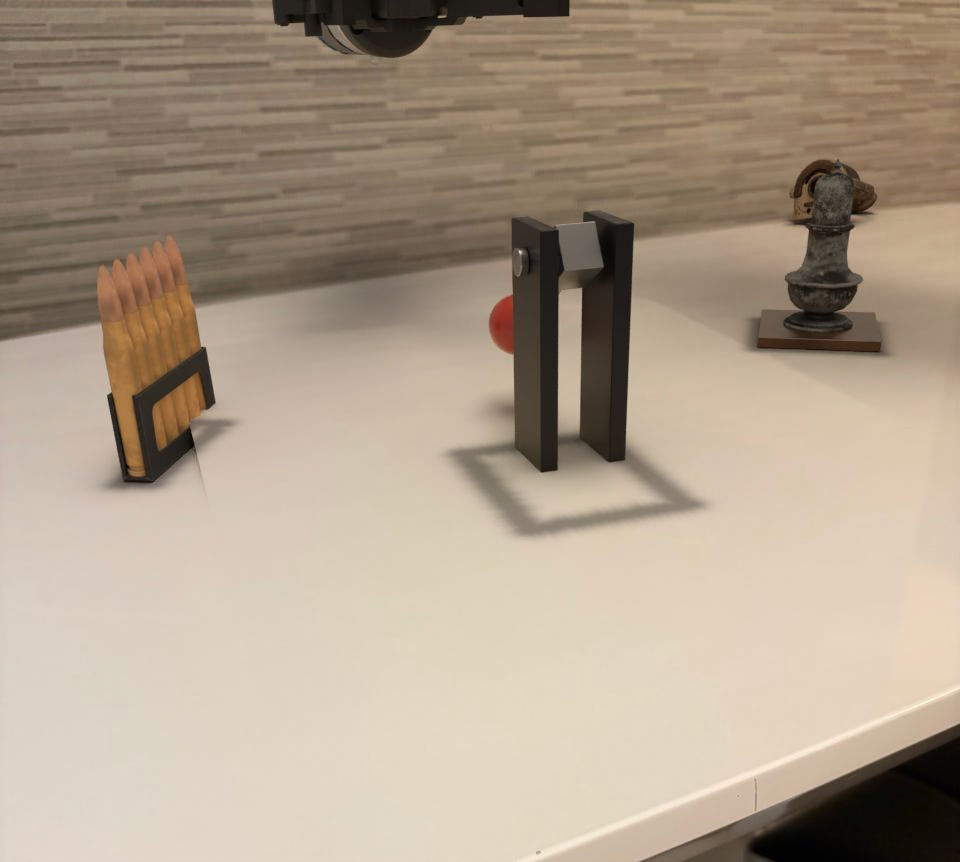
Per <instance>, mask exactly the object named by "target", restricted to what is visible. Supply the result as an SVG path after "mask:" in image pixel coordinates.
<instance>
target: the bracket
mask: <svg viewBox="0 0 960 862" xmlns="http://www.w3.org/2000/svg"><path fill="white" fill-rule="evenodd" d="M592 221H595V222H596V228H597V233H598V238H599V243H600V248H601V253H602V258H603V263H604V267H603V269H602V270H601V271H600V272H599V273H598V274H597V275H596V277H595V278H594V279H593V280H592V281H591V282H590V283H589V285H588V286H587V287H586V288H581V321H580V322H581V329H580V331H581V333H580V334H581V335H580V389H579V390H580V391H579V392H580V395H579V396H580V397H579V400H580V401H579V439H580V440H582V441H583V442H584V443H585V444H586V445H588V446H589V447H590V448H591V449H592V450H593V451H595V452H596V453H597V454H598V455H599V456H601V457H602V458H603V459H604V460H605V461H606V462H608V463H614V462H622V461H626V446H627V424H628V423H627V421H628V399H629V398H628V397H629V372H630V371H629V369H630V345H631V344H630V343H631V342H630V341H631V321H632V320H631V317H632V290H633V267H634V266H633V264H634V243H635V242H634V239H635V223H634V222H632V221H629V220H627V219H624V218H621V217H619V216H616V215H613V214H610V213H608V212H605V211H602V210H599V209H598V210H597V209H596V210H587V211H583V213H582V222H592ZM510 225H511V270H512V271H511V282H512V283H511V284H512V286H511V287H512V290H511V291H512V294H513V353H514V355H513V399H514V400H513V403H514V404H513V405H514V406H513V409H514V411H513V413H514V415H513V416H514V448H515V449H516V450H518V451H519V453H520V454H521V455H523V456H524V457H525V459H527V461H528V462H530V463H531V464H532V465H533V467H534V468H535V469H537V470H538V471H539V473H543V474H544V473H550V472H556V471H558V470H559V465H558V464H559V313H560V312H559V311H560V310H559V308H560V307H559V305H560V304H559V303H560V302H559V301H560V300H559V299H560V297H559V296H560V293H559V230H558V229H556V228H554V226H551V225H549V224H546V223H545V222H542V221H540V220H537V219H536V218H532V217H530V216H527V215H526V216H517V217H512V218H511V224H510Z"/></svg>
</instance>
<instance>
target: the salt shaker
mask: <svg viewBox="0 0 960 862" xmlns="http://www.w3.org/2000/svg"><path fill="white" fill-rule="evenodd" d="M841 163H842V162H841V161H840V159H839V158H838V159H836V162H835V164H834V165H833V166H834V170H833V171H831V172H830V173H829V174H826V175H824V176H822V177H821V178H819V179H818V181H817V182H816V185H815V191H814V200H813V208H812V217H811V219H810V221H808V222H807V223H805V226H804V227H805V228H806V229H807V231H808V233H807V234H808V235H807V241H806V242H807V244H806V251H805V255H804V258H803V261H802V264H801V266H800V267H799V268H797V269H796V270H793V271H790V272H787V273H786V274H784V281H785V282H786V283H787V288H786V289H787V294H788V296H789V297H788V298H789V301H790V302H791V304H792V305H793V306H794V307H795V308H797V309H798V310H804V311H802V312H797V313H794V314H792V315H790V316H789V317H787V318H786V319H784V321H783V323H784V325H785V326H787V327H789V328H791V329H795V330H800V331H806V332H838V331H843V330H847V329H849V328H851V327H852V326H853V323H852V321H851V320H849V319H848V318H847V317H846V316H845V315H842V314H839V313H835V312H836V311H842V310H844V309H845V308H846V307H847V306H849V305H850V304H851V303H852V301H854V299H855V296H856V295H857V293H858V288H859V285H861V284H862V282H863V281H864V278H863V276H862V275H860V274H859V273H856V272H854V271H853V270H852V269H851V268H850V267H849V261H848V249H849V241H850V233H851V231H852V230H854V229H855V228H856V226H855V224H854V223H853V222H852V221H851V219H852V218H851V217H852V213H853V212H852V204H853V197H854V189H855V183H854V181H853V179H852V178H851V177H850V176H849V175H846V174H844V173H843V171H840V167H841V166H842V165H841Z"/></svg>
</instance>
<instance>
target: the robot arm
mask: <svg viewBox="0 0 960 862" xmlns="http://www.w3.org/2000/svg"><path fill="white" fill-rule="evenodd" d="M570 2H571V0H271V3H272V12H273V13H272V14H273V22H274V23H273V24H274V25H276V26H280V27H289V25H290V24H303V27H304V36H305V37H306V38H307V37H315V38H316V39H317V40H319V42H320V43H322V44H323V45H324V46H326V47H327V48H329V49H330V50H332V51H334V52H338V53H340V54H341V55H344V56H346V55H347V56H348V55H349V56H351V55H354V56H356V55H357V56H368V58H369V62H370V64H372V65H376V66H377V65H380V64H381V63H382V58H387V59H397V58H402V57H406V56H408V55H410V54H412V53H414V52H415V51H417V50H418V49H419V48H420V47H422V46H423V45H424V44H425V42H426V41H427V40H428V39H429V37H430V36H431V34H432V32H433V31H434V30H435V28H436V27H445V26H446V27H449V26H463V25H464V24H465V22H466V20H467V18H475V20H481V19H483V18H484V17H498V16H499V17H503V16H506V17H507V16H522V17H523V18H564V17H565V18H566V17H567V18H568V17H570V13H571V12H570V8H571V7H570V6H571V5H570V4H571V3H570Z"/></svg>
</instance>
